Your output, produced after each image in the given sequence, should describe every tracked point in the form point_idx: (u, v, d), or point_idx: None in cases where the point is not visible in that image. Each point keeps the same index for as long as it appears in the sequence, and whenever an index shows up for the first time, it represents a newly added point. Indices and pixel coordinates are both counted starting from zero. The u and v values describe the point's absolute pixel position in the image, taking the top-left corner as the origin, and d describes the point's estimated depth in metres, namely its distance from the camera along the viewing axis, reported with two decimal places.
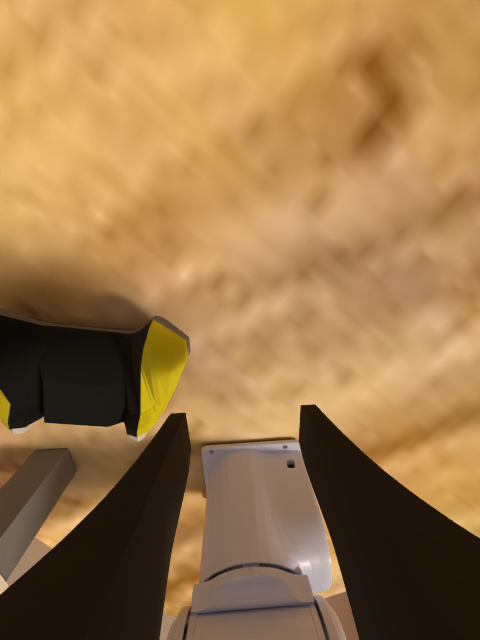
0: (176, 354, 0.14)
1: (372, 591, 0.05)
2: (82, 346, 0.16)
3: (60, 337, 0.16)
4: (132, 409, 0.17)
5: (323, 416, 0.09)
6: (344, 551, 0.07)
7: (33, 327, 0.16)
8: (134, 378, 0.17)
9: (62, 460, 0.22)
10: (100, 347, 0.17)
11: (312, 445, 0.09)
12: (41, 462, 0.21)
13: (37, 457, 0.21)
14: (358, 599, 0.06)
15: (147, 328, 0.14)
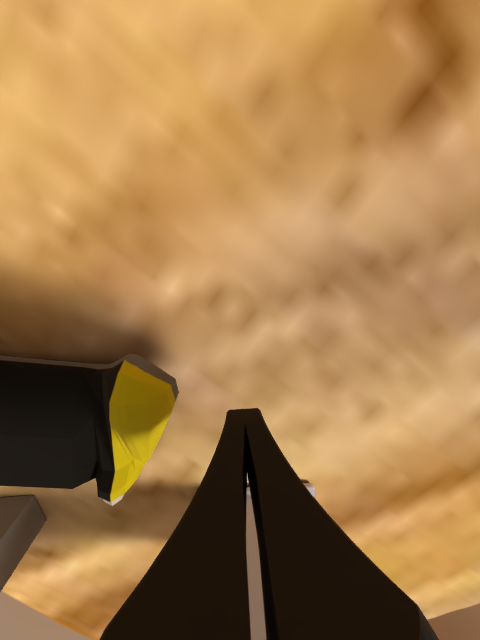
0: (156, 406, 0.10)
1: (266, 600, 0.05)
2: (38, 387, 0.13)
3: (10, 376, 0.13)
4: (105, 464, 0.14)
5: (260, 420, 0.09)
6: (260, 558, 0.07)
7: None
8: (106, 427, 0.13)
9: (25, 511, 0.18)
10: (62, 388, 0.13)
11: (247, 449, 0.09)
12: None
13: None
14: (264, 607, 0.06)
15: (115, 373, 0.10)
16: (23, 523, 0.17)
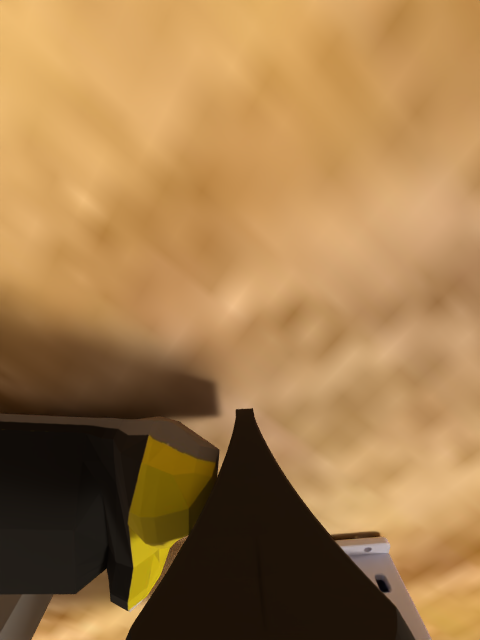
0: (199, 504, 0.07)
1: None
2: (26, 458, 0.09)
3: None
4: (119, 555, 0.10)
5: (251, 420, 0.09)
6: None
7: None
8: (120, 508, 0.10)
9: None
10: (58, 458, 0.09)
11: None
12: None
13: None
14: None
15: (137, 461, 0.06)
16: (32, 594, 0.14)
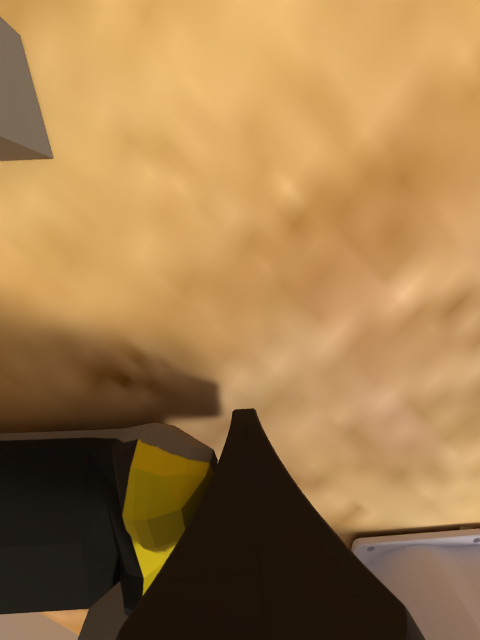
0: (194, 505, 0.07)
1: None
2: (30, 474, 0.09)
3: None
4: (129, 567, 0.10)
5: (254, 420, 0.09)
6: None
7: None
8: None
9: None
10: (61, 472, 0.09)
11: None
12: None
13: None
14: None
15: (127, 466, 0.06)
16: None
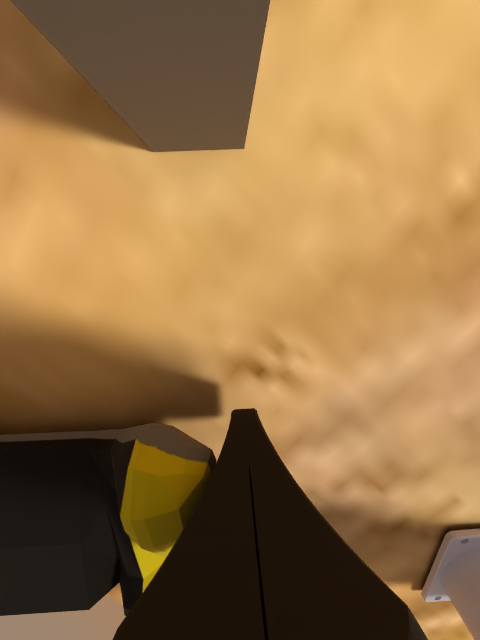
0: (192, 504, 0.07)
1: None
2: (29, 475, 0.09)
3: None
4: (129, 567, 0.10)
5: (256, 420, 0.09)
6: None
7: None
8: None
9: None
10: (60, 472, 0.09)
11: None
12: None
13: None
14: None
15: (125, 466, 0.06)
16: None
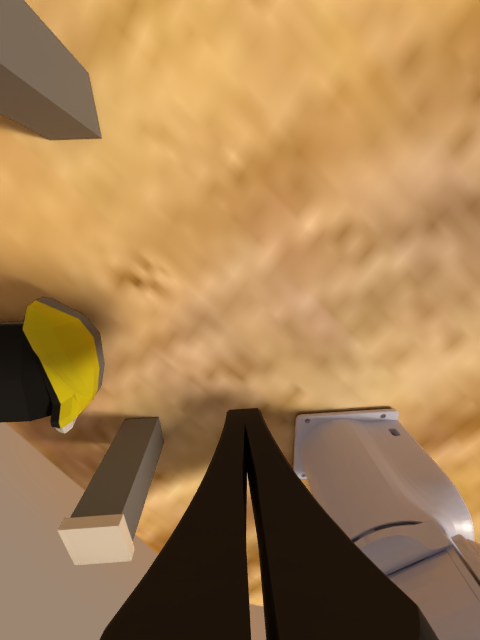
0: (65, 333, 0.13)
1: (266, 600, 0.05)
2: None
3: None
4: (54, 400, 0.17)
5: (260, 420, 0.09)
6: (260, 558, 0.07)
7: None
8: None
9: (156, 428, 0.21)
10: (8, 340, 0.16)
11: (247, 449, 0.09)
12: (137, 429, 0.20)
13: (130, 425, 0.21)
14: (264, 607, 0.06)
15: None
16: (155, 437, 0.20)
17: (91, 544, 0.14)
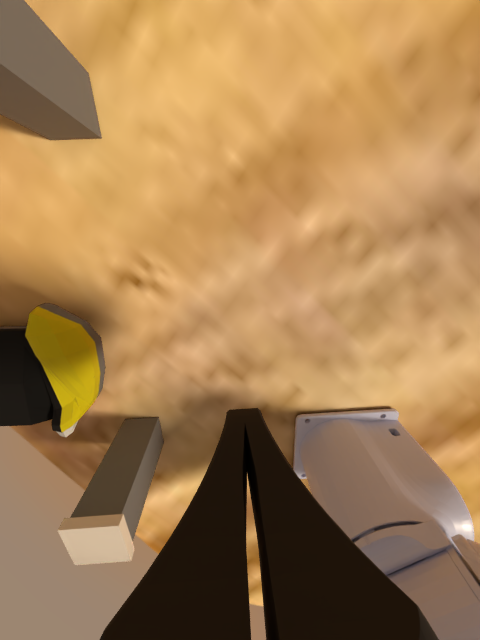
0: (67, 339, 0.14)
1: (266, 600, 0.05)
2: None
3: None
4: (55, 404, 0.17)
5: (260, 420, 0.09)
6: (260, 558, 0.07)
7: None
8: None
9: (156, 428, 0.21)
10: (10, 345, 0.16)
11: (247, 449, 0.09)
12: (137, 429, 0.20)
13: (130, 425, 0.21)
14: (264, 607, 0.06)
15: None
16: (155, 437, 0.20)
17: (91, 544, 0.14)
